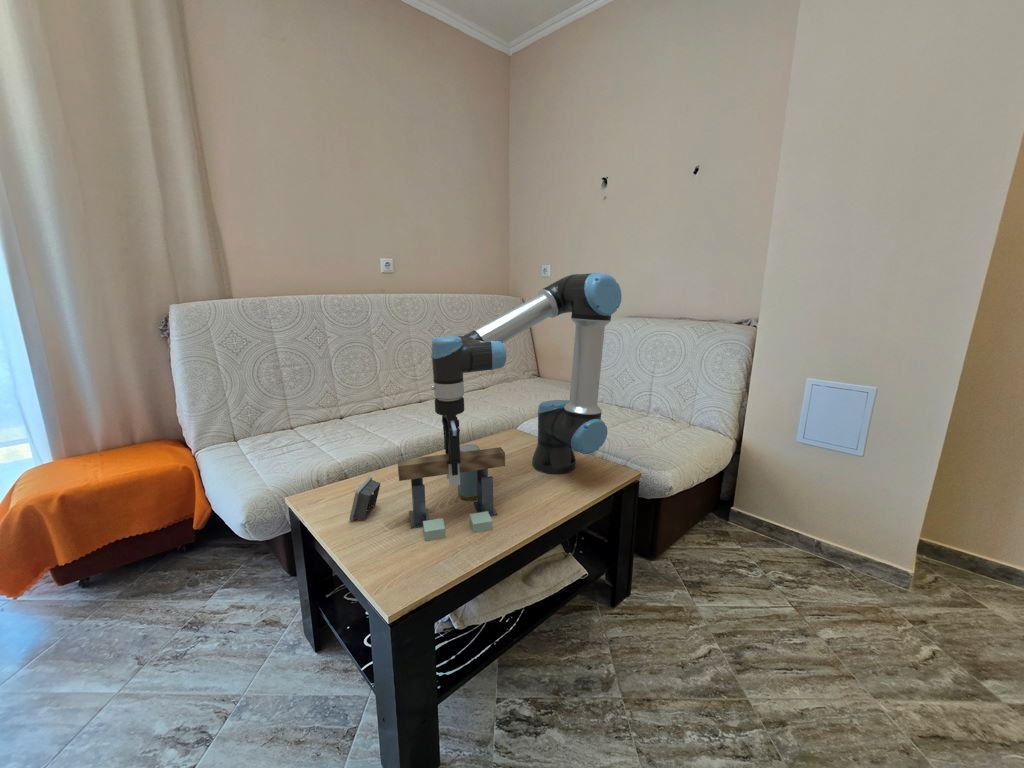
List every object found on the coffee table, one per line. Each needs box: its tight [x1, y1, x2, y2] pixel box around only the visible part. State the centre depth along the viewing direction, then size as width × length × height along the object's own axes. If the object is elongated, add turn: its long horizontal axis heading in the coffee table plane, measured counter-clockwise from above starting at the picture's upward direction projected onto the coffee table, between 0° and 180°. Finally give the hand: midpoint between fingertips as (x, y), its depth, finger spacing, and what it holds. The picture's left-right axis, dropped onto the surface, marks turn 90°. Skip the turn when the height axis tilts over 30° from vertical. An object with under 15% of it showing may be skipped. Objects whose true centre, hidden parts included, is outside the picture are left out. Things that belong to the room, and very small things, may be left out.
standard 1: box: [408, 478, 431, 530], centre depth 110 cm, size 5×8×11 cm, turn 17°
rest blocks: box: [422, 511, 494, 542], centre depth 106 cm, size 17×5×2 cm, turn 107°
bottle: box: [457, 444, 481, 501], centre depth 123 cm, size 7×7×15 cm
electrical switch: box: [349, 476, 381, 522], centre depth 114 cm, size 9×5×9 cm, turn 176°
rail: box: [397, 446, 506, 482], centre depth 111 cm, size 28×4×4 cm, turn 107°
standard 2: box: [473, 469, 498, 517], centre depth 115 cm, size 5×8×11 cm, turn 17°
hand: (453, 480), depth 112 cm, fingers closed on rail, 4 cm apart
